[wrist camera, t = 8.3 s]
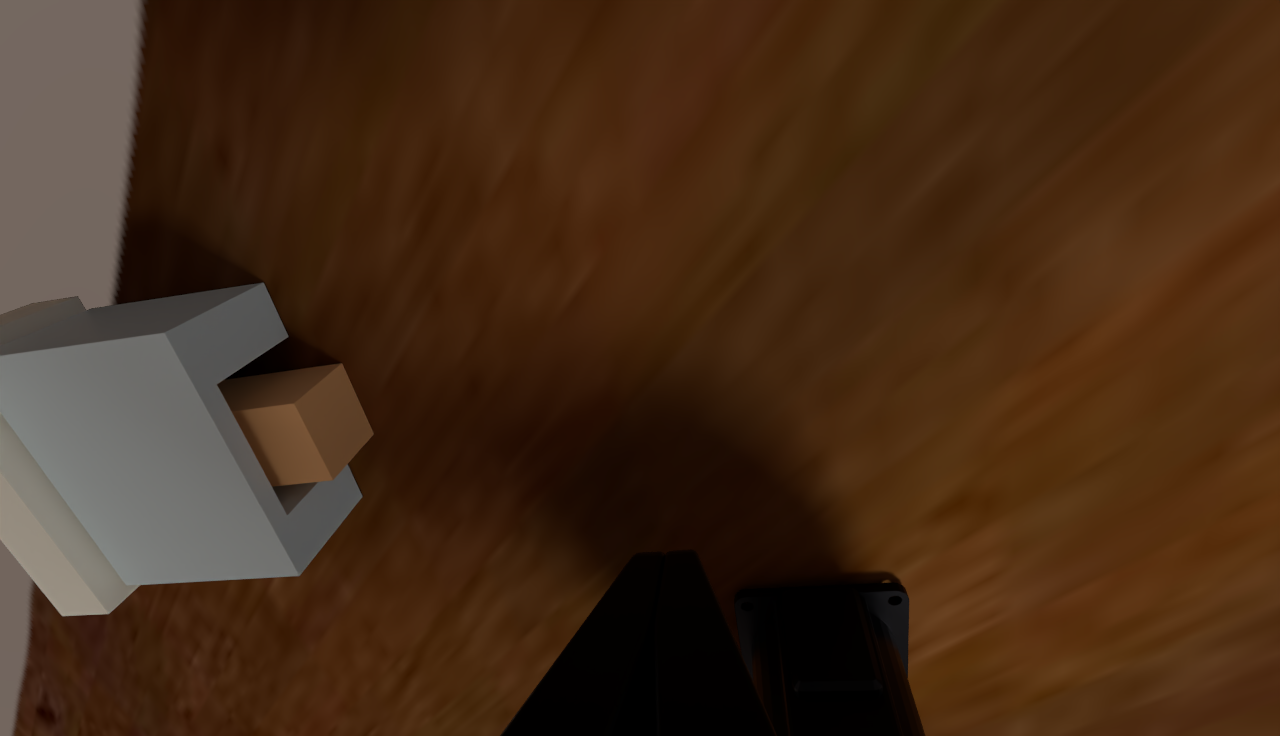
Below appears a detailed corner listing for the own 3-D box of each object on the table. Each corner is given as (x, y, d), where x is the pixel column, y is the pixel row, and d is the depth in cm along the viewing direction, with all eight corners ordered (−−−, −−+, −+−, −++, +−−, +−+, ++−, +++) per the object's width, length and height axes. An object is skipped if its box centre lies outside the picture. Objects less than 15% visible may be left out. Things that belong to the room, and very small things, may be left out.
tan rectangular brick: (376, 431, 23) (333, 480, 21) (240, 447, 24) (182, 496, 22) (344, 360, 22) (293, 403, 19) (202, 381, 23) (136, 424, 20)
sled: (362, 496, 24) (299, 576, 21) (211, 508, 26) (126, 585, 22) (263, 282, 21) (164, 332, 17) (91, 308, 22) (-37, 360, 18)
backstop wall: (212, 518, 26) (108, 614, 22) (171, 521, 26) (62, 616, 22) (77, 296, 22) (-87, 358, 17) (31, 303, 22) (-140, 366, 18)
